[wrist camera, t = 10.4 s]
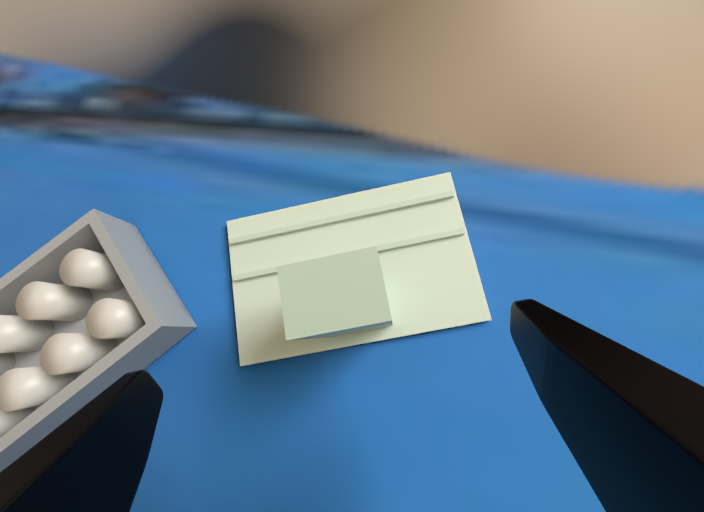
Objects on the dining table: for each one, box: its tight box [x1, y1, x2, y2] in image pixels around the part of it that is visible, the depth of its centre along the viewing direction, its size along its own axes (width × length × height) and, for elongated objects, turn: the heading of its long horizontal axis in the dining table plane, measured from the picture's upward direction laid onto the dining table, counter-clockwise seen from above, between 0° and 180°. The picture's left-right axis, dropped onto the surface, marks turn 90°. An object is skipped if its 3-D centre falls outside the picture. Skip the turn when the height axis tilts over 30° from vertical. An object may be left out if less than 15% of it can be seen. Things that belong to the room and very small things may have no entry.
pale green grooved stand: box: [227, 172, 492, 366], centre depth 15 cm, size 8×13×8 cm, turn 100°
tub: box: [0, 209, 197, 472], centre depth 18 cm, size 8×13×3 cm, turn 128°
